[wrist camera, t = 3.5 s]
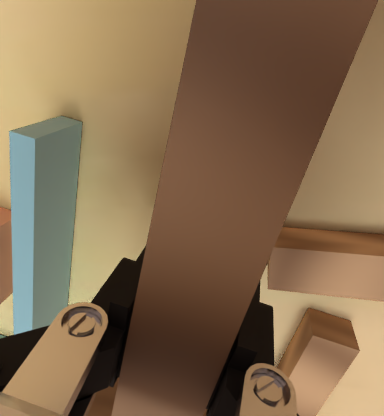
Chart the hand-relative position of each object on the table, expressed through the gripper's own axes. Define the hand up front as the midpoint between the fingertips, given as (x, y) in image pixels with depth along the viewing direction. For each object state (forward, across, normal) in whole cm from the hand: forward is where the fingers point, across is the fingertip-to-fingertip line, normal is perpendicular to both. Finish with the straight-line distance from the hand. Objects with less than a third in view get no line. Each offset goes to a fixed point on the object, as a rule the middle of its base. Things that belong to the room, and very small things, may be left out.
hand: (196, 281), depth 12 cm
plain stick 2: (+7, -8, +12) cm, 16 cm away
